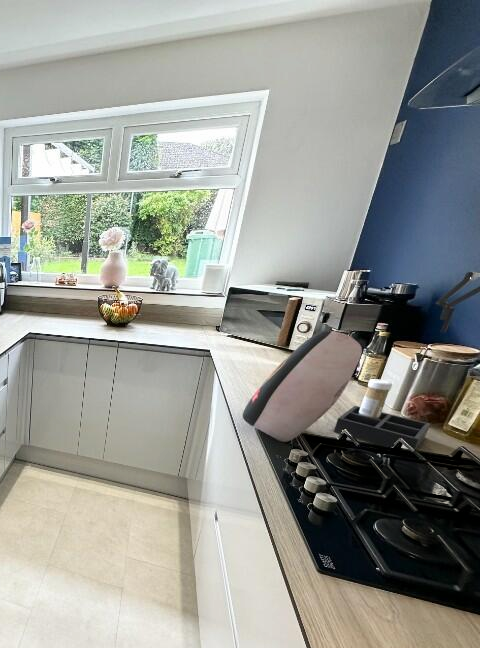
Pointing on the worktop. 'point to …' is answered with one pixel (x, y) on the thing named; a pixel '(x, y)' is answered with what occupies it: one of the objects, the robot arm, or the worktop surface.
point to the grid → (382, 428)
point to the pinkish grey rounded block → (304, 385)
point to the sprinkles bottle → (375, 398)
